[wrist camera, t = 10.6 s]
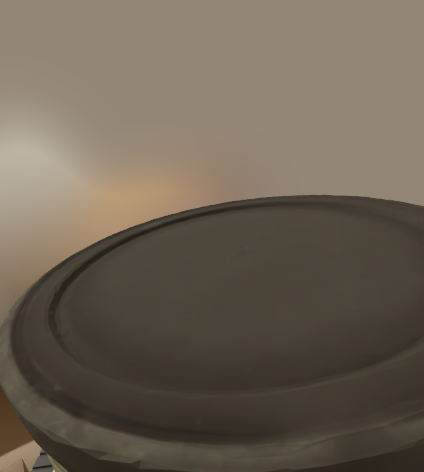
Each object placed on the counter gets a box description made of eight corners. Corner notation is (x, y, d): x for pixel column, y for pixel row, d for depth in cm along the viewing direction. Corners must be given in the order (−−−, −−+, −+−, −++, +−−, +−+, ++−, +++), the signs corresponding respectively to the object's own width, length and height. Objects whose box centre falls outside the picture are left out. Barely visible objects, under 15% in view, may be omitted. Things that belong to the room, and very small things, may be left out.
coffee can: (187, 443, 17) (130, 211, 13) (378, 451, 16) (387, 181, 11) (99, 827, 8) (-227, 440, 3) (570, 975, 6) (1199, 517, 2)
